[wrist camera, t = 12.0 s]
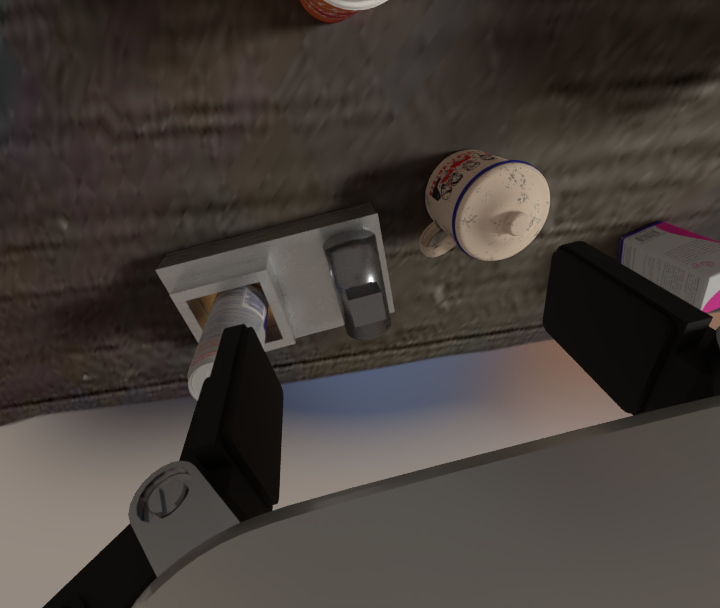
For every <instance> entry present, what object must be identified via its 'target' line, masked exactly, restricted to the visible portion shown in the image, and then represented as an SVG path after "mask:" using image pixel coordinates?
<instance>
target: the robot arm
mask: <svg viewBox="0 0 720 608" xmlns="http://www.w3.org/2000/svg"><path fill="white" fill-rule="evenodd" d="M712 318H713V317H712V316H710V315H708V314H707V313H705V312H703V311H702V310H700V309H698V308H696V307H695V306H693V305H691V304H690V303H688V302H686V301H684V300H683V299H681V298H679V297H678V296H676V295H674V294H672V293H671V292H669V291H667V290H666V289H664V288H662V287H660V286H659V285H657V284H655V283H654V282H652V281H650V280H648V279H647V278H645V277H643V276H642V275H640V274H638V273H636V272H635V271H633V270H631V269H630V268H628V267H626V266H624V265H623V264H621V263H619V262H618V261H616V260H614V259H612V258H611V257H609V256H607V255H606V254H604V253H602V252H600V251H599V250H597V249H595V248H594V247H592V246H590V245H588V244H587V243H585V242H583V241H577V242H573V243H569V244H565V245H561V246H560V247H559V248H558V249H557V251H556V252H554V254H553V256H552V261H551V268H550V275H549V281H548V288H547V295H546V301H545V308H544V315H543V326H544V328H545V330H546V331H547V332H548V333H549V334H550V335H551V337H552V338H553V339H554V340H555V341H556V342H557V343H558V344H559V345H560V346H561V347H562V348H563V349H564V350H565V351H566V352H567V353H568V354H569V355H570V356H571V357H572V358H573V359H574V360H575V361H576V362H577V363H578V364H579V365H580V366H581V367H582V368H583V369H584V371H585V372H587V374H588V375H589V376H590V377H591V378H592V379H593V380H594V381H595V382H596V383H597V384H598V385H599V386H600V387H601V388H602V389H603V390H604V391H605V392H606V393H607V394H608V395H609V396H610V397H611V398H612V399H613V400H614V401H615V402H616V403H617V405H618V406H620V407H621V409H623V410H624V411H625V412H627V413H631V414H633V416H630V417H626V418H623V419H618V420H615V421H610V422H607V423H602V424H598V425H595V426H590V427H586V428H582V429H578V430H574V431H570V432H566V433H563V434H559V435H555V436H551V437H547V438H543V439H539V440H535V441H531V442H527V443H523V444H519V445H515V446H512V447H508V448H504V449H500V450H496V451H492V452H488V453H484V454H480V455H476V456H473V457H469V458H465V459H461V460H457V461H453V462H449V463H446V464H441V465H438V466H434V467H430V468H426V469H423V470H419V471H415V472H411V473H408V474H403V475H399V476H396V477H392V478H388V479H385V480H380V481H377V482H373V483H369V484H365V485H361V486H357V487H354V488H350V489H346V490H343V491H339V492H336V493H332V494H328V495H325V496H321V497H318V498H314V499H311V500H307V501H303V502H300V503H296V504H293V505H289V506H286V507H283V508H280V509H277V510H274V511H272V508H273V505H274V504H277V503H278V500H279V487H280V464H281V463H280V462H281V440H282V418H283V390H282V387H281V384H280V382H279V380H278V378H277V376H276V374H275V372H274V370H273V368H272V366H271V363H270V361H269V359H268V357H267V355H266V353H265V351H264V349H263V347H262V345H261V343H260V340H259V338H258V336H257V334H256V332H255V330H254V328H253V327H247V326H246V325H245V324H240V325H236V326H231V327H227V328H225V329H224V330H223V333H222V336H221V340H220V343H219V347H218V350H217V354H216V357H215V361H214V364H213V368H212V371H211V374H210V377H207V378H206V379H205V380H204V382H203V385H202V388H201V392H200V395H199V398H198V401H197V405H196V408H195V411H194V414H193V418H192V421H191V425H190V428H189V431H188V434H187V437H186V441H185V444H184V447H183V451H182V454H181V457H180V460H179V461H177V462H172V463H170V464H167V465H165V466H163V467H161V468H160V469H159V470H157V471H155V472H154V473H153V474H151V475H150V476H149V477H148V478H147V479H146V480H145V481H144V482H143V483H142V485H141V486H140V487H139V489H138V490H137V492H136V493H135V495H134V497H133V499H132V502H131V504H130V508H129V514H128V515H129V519H130V524H129V525H128V526H127V527H126V528H125V529H124V530H123V531H122V532H121V533H120V534H119V535H118V536H117V537H115V538H114V539H113V540H112V541H111V542H110V543H109V544H108V545H107V546H106V547H105V548H104V549H103V550H102V551H101V552H100V553H99V554H98V555H97V556H96V557H95V558H94V559H93V560H91V561H90V562H89V563H88V564H87V565H86V566H85V567H84V568H83V569H82V570H81V571H80V572H79V573H78V574H77V575H76V576H75V577H74V578H73V579H72V580H71V581H70V582H69V583H68V584H66V585H65V586H64V587H63V588H62V589H61V590H60V591H59V592H58V593H57V594H56V595H55V596H54V597H53V598H52V599H51V600H50V601H49V602H48V603H47V604H46V605H45V606H44V607H42V608H720V326H719V327H718V328H717V329H716V330H714V329H712V328H710V327H709V324H710V322H711V320H712Z"/></svg>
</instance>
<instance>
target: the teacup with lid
mask: <svg viewBox="0 0 720 608" xmlns="http://www.w3.org/2000/svg"><path fill="white" fill-rule="evenodd" d="M425 203H426V208H427V211H428V213H429V215H430V217H431V218H432V220H433V222H432V223H431V224H430V225H429V226H428V227H427V228H426V229H425V230H424V231H423V233H422V235H421V237H420V240H419V248H420V250H421V251H422V253H423V254H424V255H425V256H427V257H437V256H440V255H442V254H444V253H446V252H447V251H449V250H450V249H451V248H452V247H454V246H455V245H456V244H457V245H458V246H459V248H460V249H461V250H462V251H463V252H464V253H465V254H467V255H468V256H470V257H472V258H475V259H478V260H484V261H495V260H501V259H504V258H507V257H510V256H512V255H514V254H516V253H518V252H519V251H521V250H522V249H524V248H525V247H526V246H527V245H528V244H529V243H530V242H531V241H532V240H533V239H534V238H535V237H536V236H537V234H538V233H539V232H540V230H541V228H542V227H543V225H544V223H545V220H546V218H547V215H548V211H549V206H550V192H549V188H548V184H547V182H546V180H545V178H544V177H543V175H542V174H541V172H540V171H539V170H538V169H537V168H536V167H534V166H533V165H531V164H529V163H527V162H523V161H519V160H507V159H504V158H500V157H497V156H494V155H491V154H488V153H485V152H482V151H478V150H462V151H459V152H456V153H454V154H452V155H450V156H448V157H447V158H446V159H444V160H443V161H442V162H441V163H440V164H439V165H438V166H437V167H436V169H435V170H434V171H433V173H432V175H431V176H430V179H429V181H428V184H427V187H426V193H425ZM441 229H443V230H444V231H445V232H446V233H447V234H448V236H447V237H446V238H444V239H443V240H442V241H440V242H439V243H437V244H435V245H433V246H429V243H430V241H431V239H432V238H433V236H434V235H435V234H437V233H438V232H439V231H440V230H441Z"/></svg>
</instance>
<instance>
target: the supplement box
mask: <svg viewBox="0 0 720 608" xmlns="http://www.w3.org/2000/svg"><path fill="white" fill-rule="evenodd" d="M618 262H619V263H621V264H623V265H624V266H626V267H628V268H630V269H631V270H633V271H635V272H636V273H638V274H640V275H642V276H643V277H645V278H647V279H648V280H650V281H652V282H654V283H655V284H657V285H659V286H660V287H662V288H664V289H666V290H667V291H669V292H671V293H672V294H674V295H676V296H678V297H679V298H681V299H683V300H684V301H686V302H688V303H690V304H691V305H693V306H695V307H696V308H698V309H700V310H702V311H703V312H705V313H707V312H710V311H712V310H715V309H717V308H720V242H718V241H715V240H712V239H709V238H707V237H704V236H701V235H698V234H696V233H693V232H690V231H687V230H684V229H682V228H679V227H676V226H674V225H671V224H668V223H666V222H663V221H658V222H656V223H654V224H651V225H649V226H646V227H644V228H642V229H639V230H637V231H634V232H632V233H630V234H627V235H625V236H622V237H621V238H620V249H619V260H618Z"/></svg>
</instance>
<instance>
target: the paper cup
mask: <svg viewBox="0 0 720 608" xmlns="http://www.w3.org/2000/svg"><path fill="white" fill-rule="evenodd" d="M386 1H387V0H300V2H301V4H302V6H303V7H304V8H305V10H306V11H307V12H308V13H309V14H310V15H311V16H313V17H314V18H315V19H317V20H319V21H322V22H325V23H337V22H340V21H343V20H345V19H347V18H349V17H350V16H352V15H354V14H355V13H357V12H358V11H360V10H366V9H369V8H373V7H376V6H378V5H380V4H382V3H384V2H386Z"/></svg>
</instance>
